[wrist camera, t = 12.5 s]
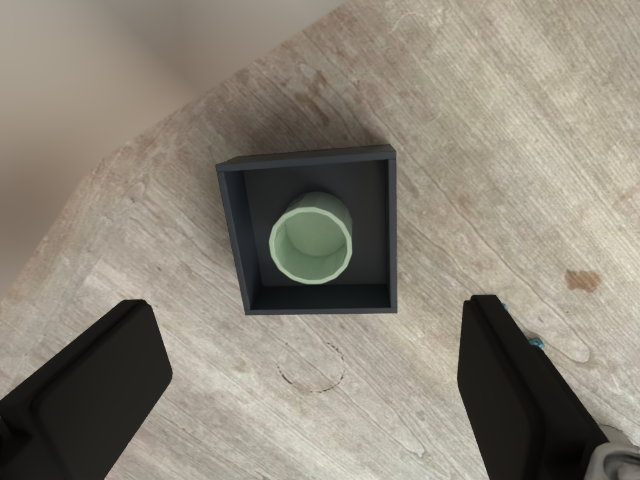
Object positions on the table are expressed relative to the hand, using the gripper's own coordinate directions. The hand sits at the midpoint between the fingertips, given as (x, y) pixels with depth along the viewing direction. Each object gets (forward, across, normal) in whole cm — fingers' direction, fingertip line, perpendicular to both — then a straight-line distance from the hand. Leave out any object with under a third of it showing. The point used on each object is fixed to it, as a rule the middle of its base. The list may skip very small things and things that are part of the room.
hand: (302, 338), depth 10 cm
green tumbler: (+22, +3, +4) cm, 23 cm away
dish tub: (+23, +3, +4) cm, 23 cm away
